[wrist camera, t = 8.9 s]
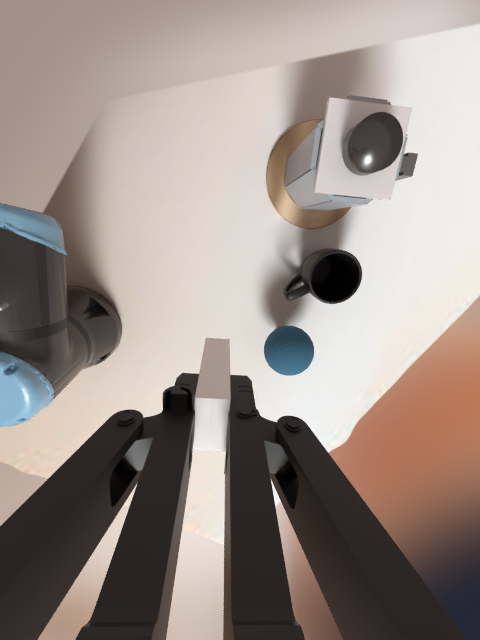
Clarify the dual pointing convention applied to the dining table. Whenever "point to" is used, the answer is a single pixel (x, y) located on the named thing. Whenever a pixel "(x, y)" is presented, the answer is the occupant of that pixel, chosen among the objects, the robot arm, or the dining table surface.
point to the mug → (327, 277)
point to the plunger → (372, 144)
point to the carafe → (331, 173)
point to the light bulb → (289, 350)
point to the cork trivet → (277, 181)
